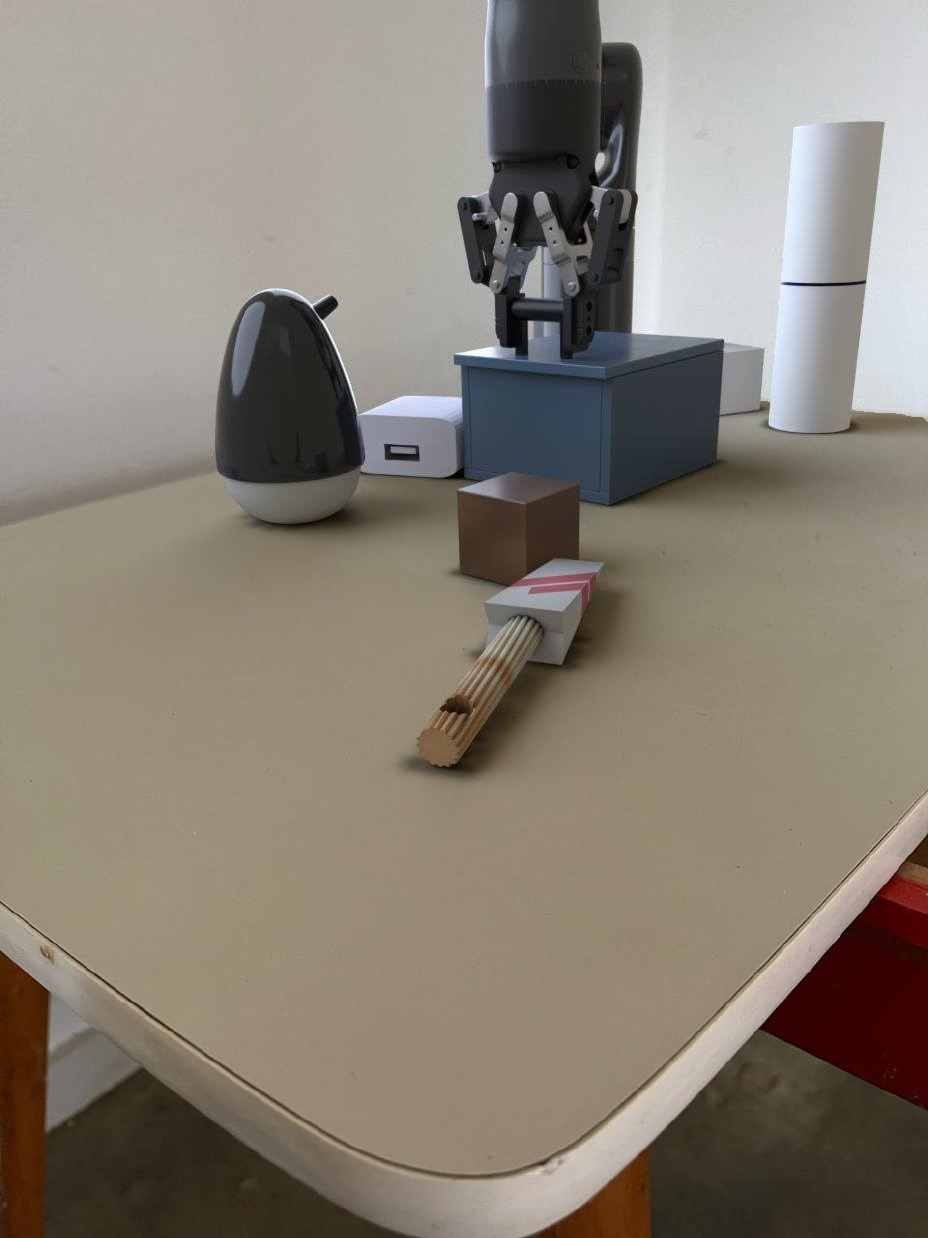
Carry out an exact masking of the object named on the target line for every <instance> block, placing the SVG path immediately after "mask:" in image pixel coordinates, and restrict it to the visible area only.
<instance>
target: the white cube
mask: <svg viewBox="0 0 928 1238" xmlns="http://www.w3.org/2000/svg"><path fill="white" fill-rule="evenodd" d="M723 350H724V356H723V371H722V387H721V402H720V416H723V415H731V414H738V413H744V412H753V411H759V410H760V409H761V398H762V387H763V374H764V361H765V347H758V346H751V345H745V344H738V343H731V342H725V341H724V349H723Z"/></svg>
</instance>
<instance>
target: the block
mask: <svg viewBox="0 0 928 1238" xmlns="http://www.w3.org/2000/svg"><path fill="white" fill-rule="evenodd" d="M580 502H581V500H580V484H578V483H572V482H567V481H561V480H555V479H550V478H544V477H539V476H533V475H527V474H522V473H516V472H510V473H507V474H504V475H501V476H498V477H495V478H492V479H489V480H485V481H479V482H477V483H473V484H470V485H468V486H465V487H461V488H458V489H457V490H456V507H457V530H458V532H457V533H458V535H457V536H458V558H459V562H458V563H459V573H460V574H464V575H468V576H471V577H472V576H473V577H475V578H477V579H478V578H479V579H482V580H485V581H490V582H493V583H498V584H501V585H504V586H508V587H510V586H511V585H513V584H514V583H516V582H518V581H519V580H521V579H522V578H524V577H526V576H527V575H529V574H530V573H532V572H534V571H535V570H537V569H539V568H540V567H542V566H543V565H545V564H547V563H548V562H550V561H551V560H553V559H555V558H559V559H570V560H580V522H581V521H580V514H581V513H580V511H581V510H580V509H581V506H580V504H581V503H580Z"/></svg>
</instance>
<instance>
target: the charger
mask: <svg viewBox="0 0 928 1238" xmlns="http://www.w3.org/2000/svg"><path fill="white" fill-rule="evenodd" d="M358 415H359V419H360V424H361V429H362V434H363V439H364V447H365V462H364V464H363V465H362V466H361V471H360V472H363V473H365V474H366V473H367V474H374V475H376V474H377V475H390V476H391V475H392V476H406V477H407V476H408V477H419V478H420V477H423V478H447V477H450V476H453V475H454V474H456V473H457V472H458V471H460V470H462V469H464V449H463V419H462V396H461V397H459V396H434V395H433V396H431V395H430V396H429V395H404V396H403V395H402V396H400V397H397V398H395V399H393V400H390V401H388V402H385V403H383V404H381V405H378V406H376V407H373V408H372V409H369V410H367V411H365V412H363V413H360V414H358Z"/></svg>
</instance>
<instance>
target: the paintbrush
mask: <svg viewBox="0 0 928 1238" xmlns="http://www.w3.org/2000/svg"><path fill="white" fill-rule="evenodd" d="M604 566H605V562H602V561H600V562H599V561H592V560H591V561H590V560H581V559H579V560H570V559H559V558H555V559H553V560H551V561H550V562H548V563H547V564H545V565H543V566H542V567H540V568H539V569H537V570H535V571H534V572H532V573H530V574H529V575H527V576H526V577H524V578H522V579H521V580H519V581H518V582H516V583H514V584H513V585H511V586H508V587H506V588H505V589H503V590H501V591H500V592H498V593H497V594H495V595H493V596H491V597H490V598H489V599H487V600H485V601H483V606H484V610H485V614H486V618H487V622H488V628H487V634H486V641H485V648H484V651H483V653H481V655H480V656H479V657H478V659H477V660H476V661H475V663H474V664H473V665H472V667H471V668H470V669H469V670H468V672H467V673H465V675H464V677H462V679H461V680H460V681H459V682H458V683H457V685H456V686H455V688H454V689H453V690H452V691H451V692H450V694H449V695H448V696H447V697H446V698H445V700H444V701H443V702H442V704H441V705H440V706H439V707H438V709H437V710H436V711H435V712H434V713H433V715H432V716H431V717H430V718H429V719H428V721H427V722H426V724H425V725H423V727H422V728H421V729H420V731H419V733H418V734H417V735H416V740H417V742H416V743H415V744H416V748H418V752H417V753H418V754H419V755H422V756H423V760H425V761H429V763H430V765H433V766H436V765H437V766H438V767H439V768H442V767H444V766H445V767H447V768H450V767H451V766H452V765H455V764H457V763H458V762H459V761H460V760H461V758H463V757H462V756H463V755H464V754H465V753H466V751H467V750H468V748H469V747H470V745H471V744H472V742H473V741H474V740H475V737H476V736H477V735H478V733H479V732H480V731H481V729H482V727H483V726H484V725H485V723H486V722H487V720H488V719H489V717H490V716H491V715H492V713H493V712H494V710H495V709H496V707H497V706H498V704H499V703H500V701H501V700H502V699H503V697H504V695H505V694H506V692H507V691H508V690H509V688H510V687H511V685H512V684H513V683H514V681H515V679H516V678H517V676H518V675H519V673H520V672H521V670H522V669H523V667H524V666H525V664H526V663H527V662H536V663H544V664H550V665H558V666H559V665H560V666H562V665H563V664H564V660H565V657H566V655H567V654H568V651H569V649H570V646H571V644H572V641H573V639H574V637H575V635H576V632H577V629H578V627H579V624H580V622H581V619H582V617H583V615H584V613H585V611H586V608H587V606H588V603H589V601H590V599H591V597H592V594H593V592H594V589H595V588H596V584H597V582H598V580H599V577H600V576H601V574H602V570H603V568H604Z"/></svg>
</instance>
